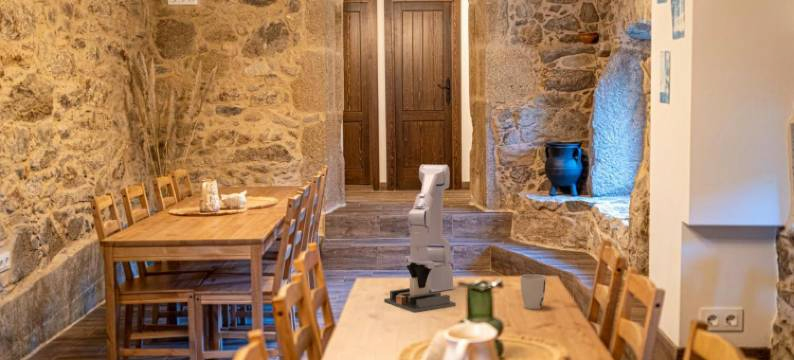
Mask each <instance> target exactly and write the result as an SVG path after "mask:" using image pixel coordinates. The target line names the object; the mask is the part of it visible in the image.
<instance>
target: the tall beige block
mask: <svg viewBox="0 0 794 360" xmlns="http://www.w3.org/2000/svg"><path fill="white" fill-rule="evenodd" d="M409 288H410V296H414V295H420V294H427V293H429V277H428V278H427V281H426V285H425V288H419V286H418V278H417V277H414V278H412V277H409Z"/></svg>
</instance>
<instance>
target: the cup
mask: <svg viewBox="0 0 794 360" xmlns="http://www.w3.org/2000/svg"><path fill="white" fill-rule="evenodd" d="M546 280H547V277H546V276H545V275H543V274H538V273H537V274H535V273H534V274H530V273H529V274H522V275H520V290H521V296H522V297H521V298H522V301H523V305H524V308H525V309H528V310H540V309H541V308H542V306H543V304H544V303H543V302H544V298H545V293H546V283H547V281H546Z"/></svg>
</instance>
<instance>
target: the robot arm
mask: <svg viewBox="0 0 794 360" xmlns="http://www.w3.org/2000/svg"><path fill="white" fill-rule="evenodd" d="M450 173H451V172H450V167H449V166H448V164H423V163H422V164H421V165H420V166H419V170H418V179H419V181H420V183H421V190H420V192H419V193H418V194H417V195H416V197H415V200H414V204H413V207H412V209H411V210H409V211H408V212H407V224H408V231H409V234H410V236H409V239H410V241H409V243H410V244H409V246H410V251H409V252H410V254H409V255H405V256H404V263H410V264H407V265H406V269H407V270H408V271H409V274H410V278H414V277H417V278H418V286H419V288H425V285H426V281H427V278H428V277H429V289H430V290H431V293H433V292H442V291H449V290H455V286H454V271H453V267H452V265H451V264H450V263H449V262H450V260H451V246H450V241H449V240H447V239H446V238H445V237H444V236H443V219H444V218H443V216H444V195H445V190H447V189H449V188H450V178H451V177H450Z"/></svg>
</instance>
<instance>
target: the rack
mask: <svg viewBox="0 0 794 360" xmlns="http://www.w3.org/2000/svg"><path fill="white" fill-rule="evenodd" d="M450 297H451V296H450V295H449V294H445V295H442V293H441V292H440V291H437V292H431V290H430V289H429V293H427V294H420V295H414V296H410V287H408V288H400V289H392V290H389V297H388V298H384V299H383V302H384V303H387V304H389V305H391V306H395V307H398V308H400V309H403V310H406V311H409V312H412V313H419V312H425V311H426V312H427V311H431V310H432V311H433V310H437V309H439V310H440V309H445V308H450V307H456V302H455V301H451V298H450Z"/></svg>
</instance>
